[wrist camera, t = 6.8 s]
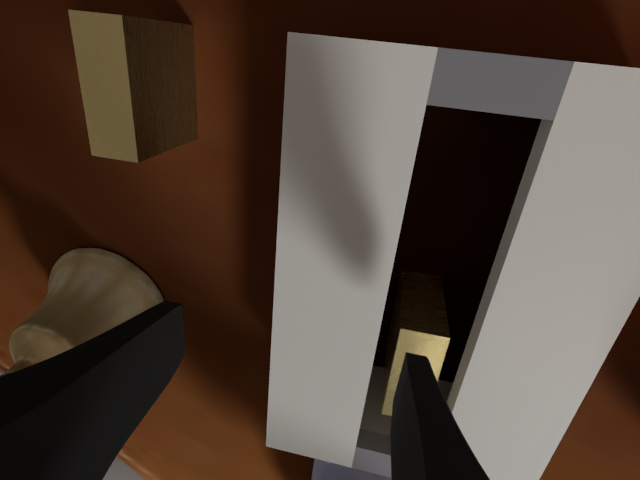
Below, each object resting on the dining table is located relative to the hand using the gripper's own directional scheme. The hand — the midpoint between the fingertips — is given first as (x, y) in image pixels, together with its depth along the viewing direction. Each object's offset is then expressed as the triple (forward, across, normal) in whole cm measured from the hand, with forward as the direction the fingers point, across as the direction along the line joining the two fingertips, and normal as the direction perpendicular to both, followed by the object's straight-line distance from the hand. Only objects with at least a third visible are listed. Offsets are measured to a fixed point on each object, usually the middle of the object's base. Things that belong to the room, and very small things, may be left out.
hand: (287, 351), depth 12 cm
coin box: (+9, -5, 0) cm, 10 cm away
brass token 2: (+9, -5, +4) cm, 11 cm away
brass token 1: (+9, +8, -6) cm, 14 cm away
